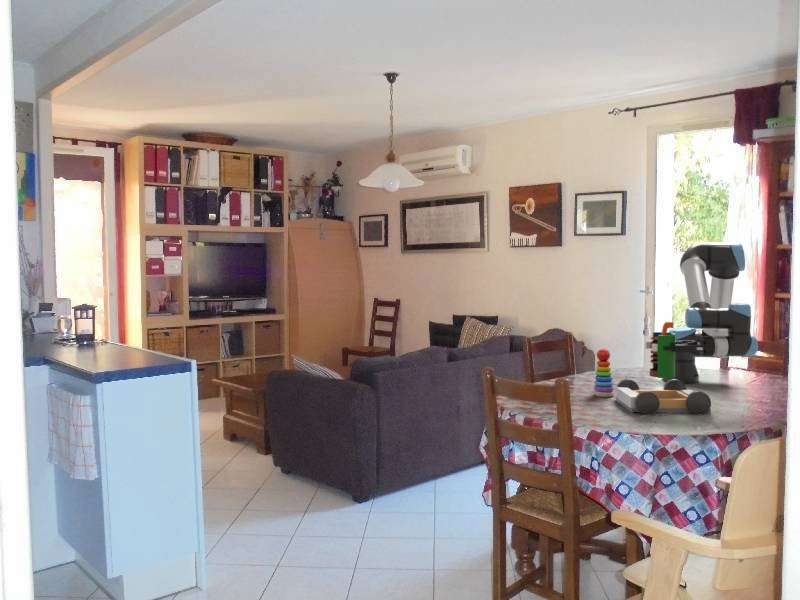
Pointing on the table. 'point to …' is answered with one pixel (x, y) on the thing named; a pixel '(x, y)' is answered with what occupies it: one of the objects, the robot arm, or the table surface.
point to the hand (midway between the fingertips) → (649, 346)
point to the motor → (663, 353)
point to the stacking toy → (603, 375)
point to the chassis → (662, 398)
